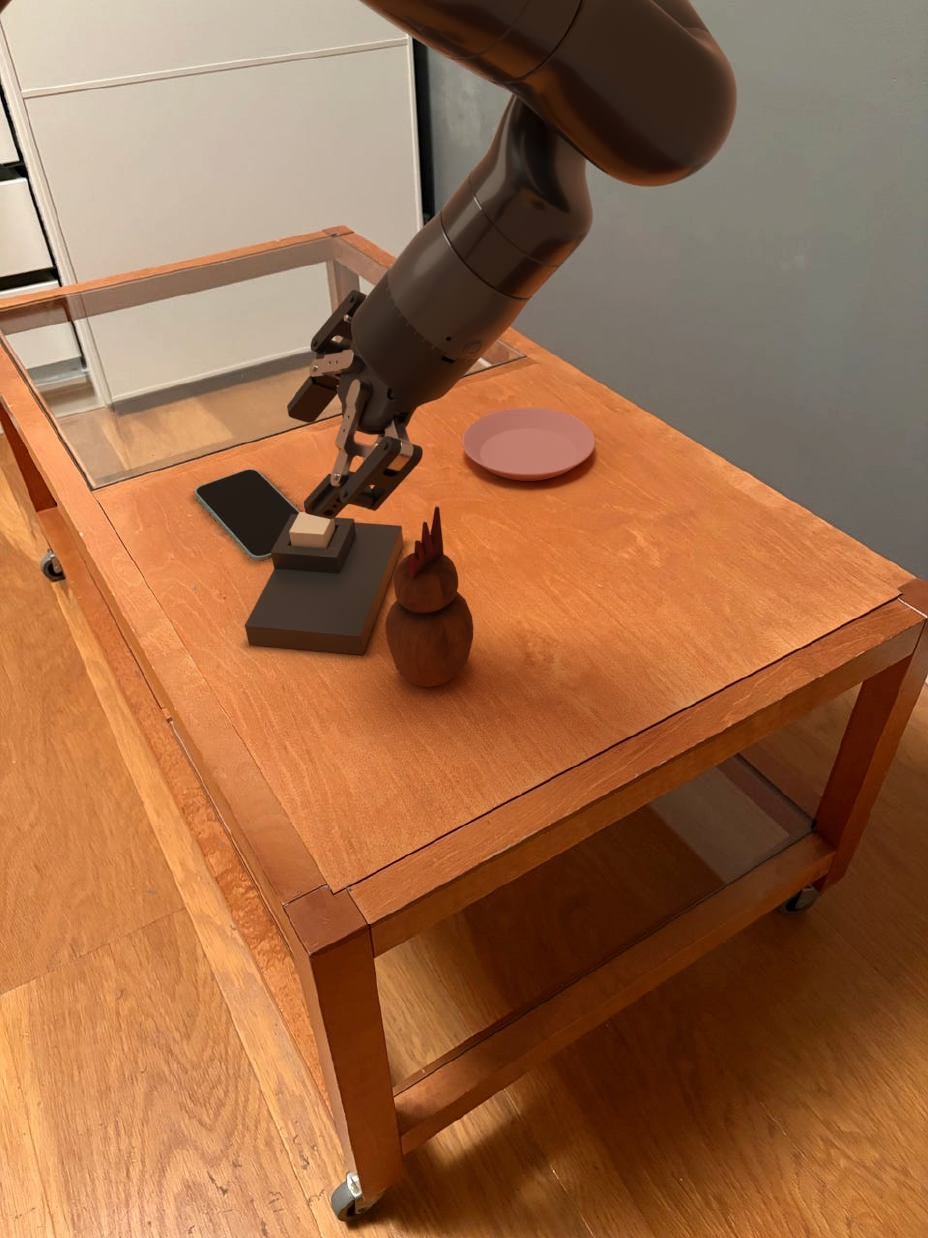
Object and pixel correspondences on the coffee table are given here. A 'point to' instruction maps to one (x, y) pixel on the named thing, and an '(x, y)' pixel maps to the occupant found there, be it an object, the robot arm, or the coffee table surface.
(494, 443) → the plate
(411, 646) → the wooden figurine
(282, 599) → the stacked tray base
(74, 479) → the coffee table surface
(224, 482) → the smartphone
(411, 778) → the coffee table surface
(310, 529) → the beige block
